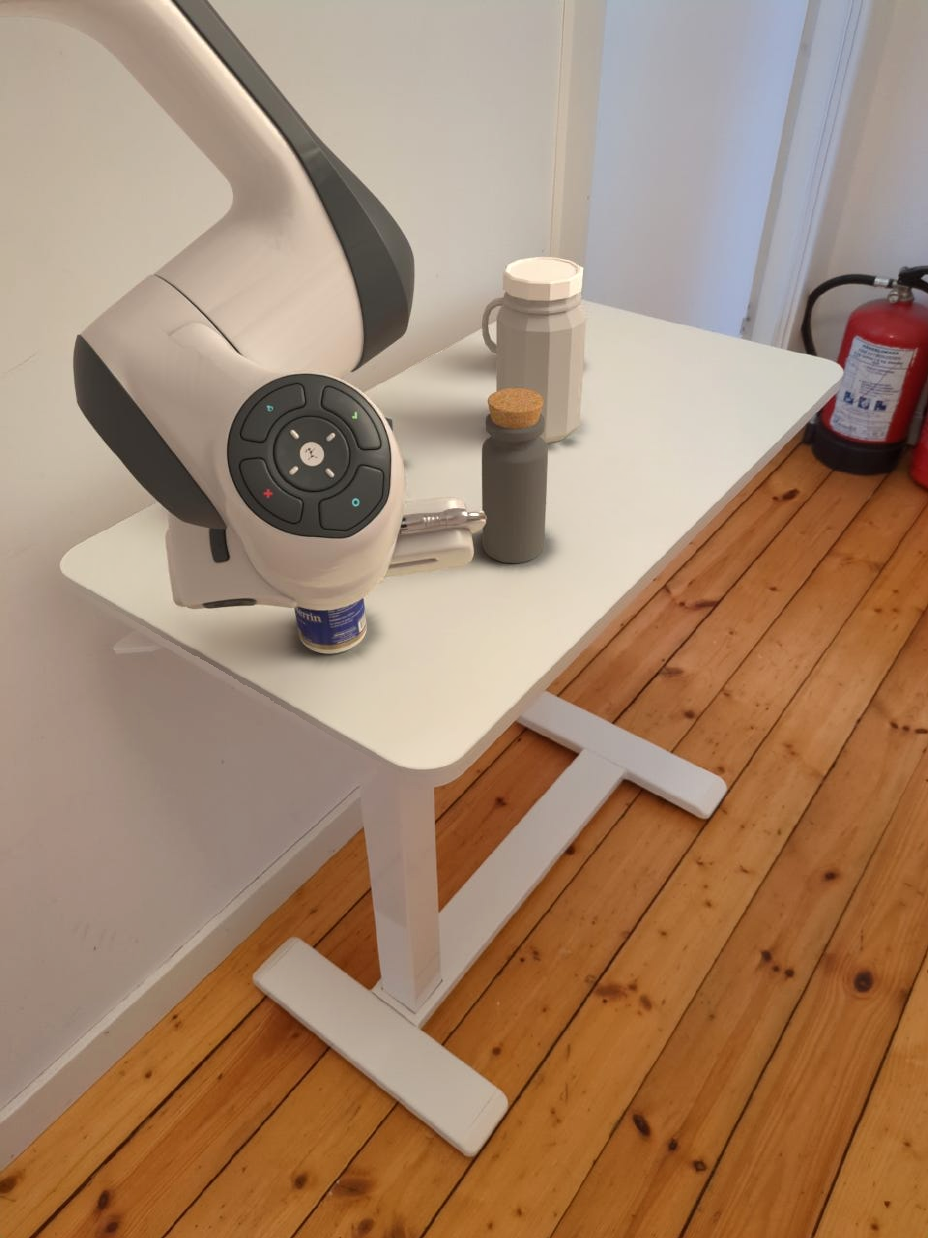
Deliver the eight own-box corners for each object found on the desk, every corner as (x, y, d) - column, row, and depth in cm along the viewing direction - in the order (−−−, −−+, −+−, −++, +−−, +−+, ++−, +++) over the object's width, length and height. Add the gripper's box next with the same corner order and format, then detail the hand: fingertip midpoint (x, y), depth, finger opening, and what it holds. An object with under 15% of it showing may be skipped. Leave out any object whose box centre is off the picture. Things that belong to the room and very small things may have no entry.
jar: (532, 456, 99) (537, 291, 87) (479, 424, 105) (477, 266, 94) (598, 430, 103) (610, 270, 92) (543, 401, 109) (548, 248, 98)
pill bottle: (286, 632, 76) (267, 533, 69) (342, 604, 79) (329, 507, 72) (323, 666, 72) (307, 565, 66) (381, 636, 75) (370, 536, 69)
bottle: (521, 571, 82) (524, 420, 72) (470, 550, 85) (467, 402, 75) (556, 542, 85) (563, 395, 76) (505, 522, 88) (507, 378, 79)
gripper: (482, 460, 55) (455, 513, 69) (140, 504, 52) (182, 551, 66) (500, 560, 54) (469, 594, 68) (154, 611, 51) (194, 635, 65)
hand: (326, 573), depth 67 cm, fingers open, 8 cm apart
